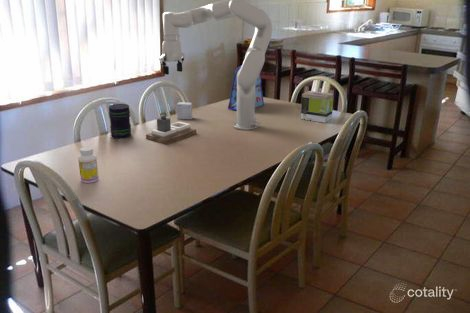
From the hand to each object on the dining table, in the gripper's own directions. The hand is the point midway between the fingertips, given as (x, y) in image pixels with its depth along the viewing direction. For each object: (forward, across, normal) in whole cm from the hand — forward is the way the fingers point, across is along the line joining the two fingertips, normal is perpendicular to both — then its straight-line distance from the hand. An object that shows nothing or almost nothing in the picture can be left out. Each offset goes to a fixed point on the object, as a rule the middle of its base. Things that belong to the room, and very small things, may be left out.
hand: (173, 72), depth 230 cm
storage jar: (+28, +28, -10) cm, 41 cm away
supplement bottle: (+28, +71, +23) cm, 80 cm away
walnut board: (+28, +13, +10) cm, 33 cm away
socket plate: (+26, +13, +9) cm, 31 cm away
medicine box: (+29, -14, -6) cm, 32 cm away
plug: (+25, +18, +10) cm, 33 cm away
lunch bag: (+29, -55, +7) cm, 62 cm away
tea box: (+29, -58, +53) cm, 84 cm away
